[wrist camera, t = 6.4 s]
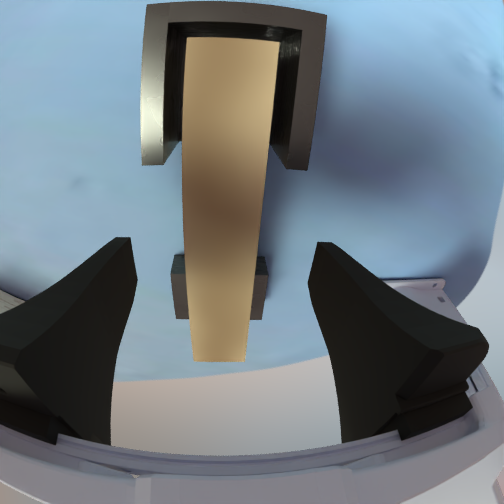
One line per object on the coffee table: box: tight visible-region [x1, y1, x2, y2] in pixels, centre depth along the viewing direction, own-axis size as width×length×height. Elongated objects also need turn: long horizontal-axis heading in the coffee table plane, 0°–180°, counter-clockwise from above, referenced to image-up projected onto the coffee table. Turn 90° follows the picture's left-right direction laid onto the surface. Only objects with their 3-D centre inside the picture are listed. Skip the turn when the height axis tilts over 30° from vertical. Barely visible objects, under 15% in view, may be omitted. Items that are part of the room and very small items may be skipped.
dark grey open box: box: [141, 1, 327, 171], centre depth 11 cm, size 6×6×6 cm
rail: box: [182, 37, 280, 362], centre depth 13 cm, size 3×16×4 cm, turn 175°
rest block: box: [171, 255, 268, 320], centre depth 20 cm, size 6×4×2 cm, turn 85°
